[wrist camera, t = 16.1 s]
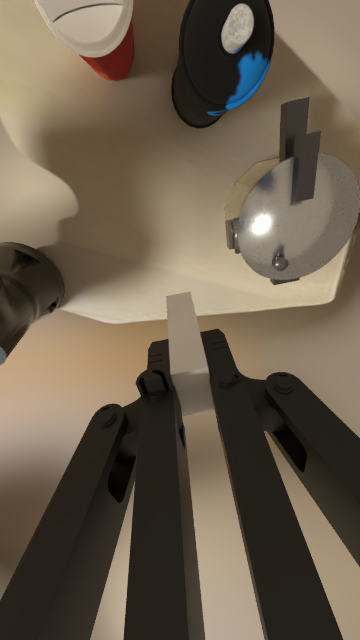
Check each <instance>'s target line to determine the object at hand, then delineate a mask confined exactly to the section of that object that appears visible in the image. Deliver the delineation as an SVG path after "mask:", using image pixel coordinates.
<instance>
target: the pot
mask: <svg viewBox="0 0 360 640" xmlns="http://www.w3.org/2000/svg"><path fill="white" fill-rule="evenodd" d="M308 108H309V97H307V98H303V99H299V100H294V101H290V102H287V103H284V104H282V105H281V122H280V152H279V158H275V159H271V160H266V161H262V162H257V163H256V164H255V165H254V166H253V167H252V168H251V169H250V170H248V171H247V172H246V173H245V174H244V175H243V176H242V177H241V178H240V179H239V180H238V181H236V182H235V185H234V187H233V189H232V192H231V194H230V197H229V199H228V202H227V204H226V207H225V224H226V236H227V247H228V248H229V249H235V247H234V231H233V218H236V217H238V215H239V211H240V208H241V206H242V203H243V201H244V199H245V197H246V195H247V194H248V192H249V191H250V189H251V188H252V186H253V185H254V184H255V182H256V181H257V180H258V179H259V178H260V177H261V176H262V175H263V174H264V173H265V172H266V171H268V170H269V169H270V168H271V167H273V166H274V165H276V164H278V163H279V162H281V161H283V160H285V159H287V158H290V157H293V156H294V144H295V136H300V135H304V134H306V132H307V120H308ZM297 280H299V278H296V279H290V280H276V279H270V281H271V282H272V284H273V285H277V284H282V283H287V282H292V281H297Z"/></svg>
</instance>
